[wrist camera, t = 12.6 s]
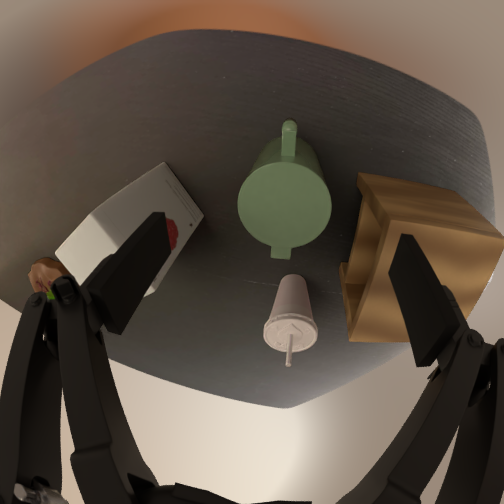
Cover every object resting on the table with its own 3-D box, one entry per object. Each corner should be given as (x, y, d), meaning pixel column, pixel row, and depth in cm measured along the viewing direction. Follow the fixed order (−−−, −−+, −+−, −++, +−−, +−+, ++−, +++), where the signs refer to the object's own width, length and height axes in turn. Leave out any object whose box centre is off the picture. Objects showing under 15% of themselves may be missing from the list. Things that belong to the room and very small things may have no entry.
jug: (259, 113, 26) (236, 125, 16) (322, 117, 25) (341, 132, 15) (257, 200, 32) (238, 257, 22) (314, 205, 31) (322, 264, 21)
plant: (59, 247, 42) (24, 283, 33) (112, 321, 51) (88, 360, 42) (25, 266, 48) (-2, 294, 39) (68, 324, 57) (48, 355, 48)
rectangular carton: (207, 215, 34) (158, 295, 22) (160, 244, 38) (108, 318, 25) (165, 158, 30) (88, 211, 18) (122, 195, 34) (52, 254, 22)
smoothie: (318, 267, 36) (322, 352, 24) (312, 301, 39) (313, 383, 28) (270, 264, 37) (257, 348, 25) (270, 299, 40) (258, 380, 29)
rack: (358, 171, 28) (390, 219, 18) (454, 191, 26) (507, 240, 16) (338, 271, 36) (348, 341, 26) (424, 278, 34) (452, 340, 24)
